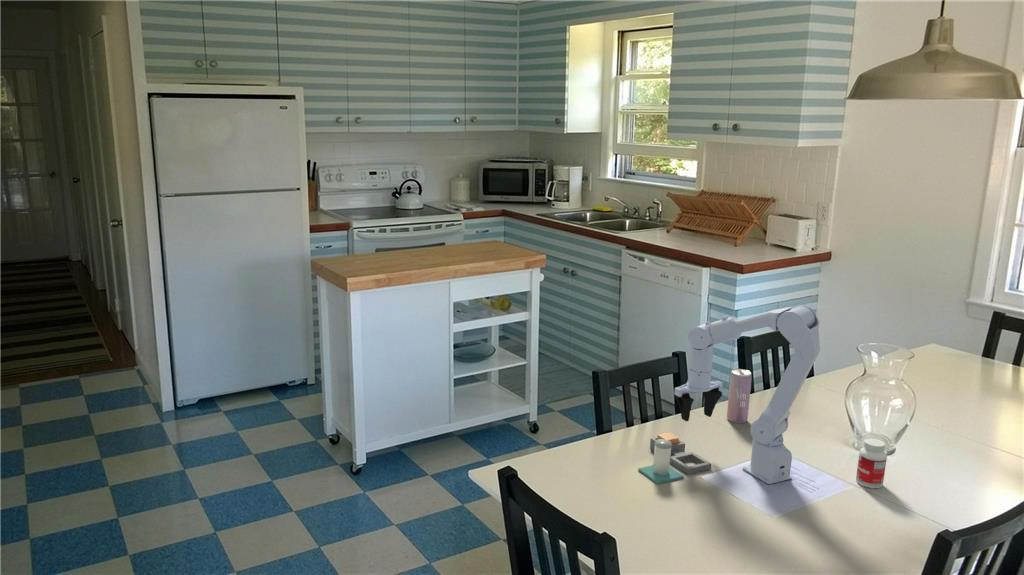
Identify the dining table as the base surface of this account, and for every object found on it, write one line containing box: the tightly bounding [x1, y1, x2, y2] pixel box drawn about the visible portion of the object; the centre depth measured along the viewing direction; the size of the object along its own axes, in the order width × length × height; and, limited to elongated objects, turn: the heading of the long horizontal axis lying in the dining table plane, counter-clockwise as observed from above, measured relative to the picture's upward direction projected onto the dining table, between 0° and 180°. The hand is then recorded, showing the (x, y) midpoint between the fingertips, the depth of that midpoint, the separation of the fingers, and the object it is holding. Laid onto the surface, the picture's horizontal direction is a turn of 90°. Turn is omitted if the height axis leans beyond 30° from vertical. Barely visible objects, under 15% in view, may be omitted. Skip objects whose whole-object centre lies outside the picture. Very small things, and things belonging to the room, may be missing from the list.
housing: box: [649, 436, 712, 475], centre depth 203 cm, size 16×8×3 cm, turn 26°
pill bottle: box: [855, 438, 888, 489], centre depth 191 cm, size 6×6×11 cm
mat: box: [637, 465, 685, 485], centre depth 194 cm, size 8×8×1 cm
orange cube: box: [656, 432, 680, 445], centre depth 207 cm, size 4×4×4 cm
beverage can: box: [726, 368, 752, 424], centre depth 229 cm, size 6×6×15 cm
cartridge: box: [652, 439, 671, 476], centre depth 193 cm, size 4×4×8 cm
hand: (696, 417), depth 206 cm, fingers open, 7 cm apart
